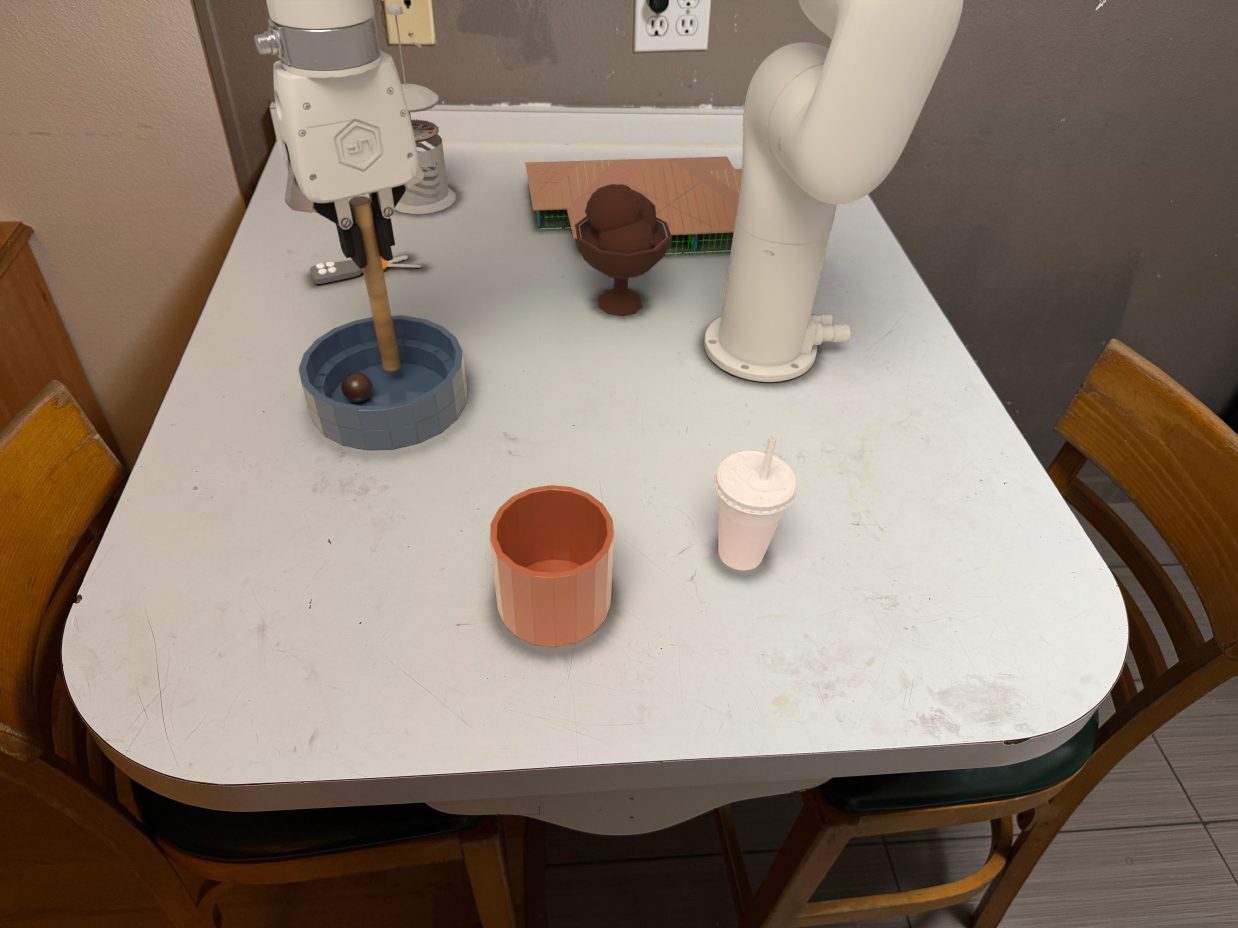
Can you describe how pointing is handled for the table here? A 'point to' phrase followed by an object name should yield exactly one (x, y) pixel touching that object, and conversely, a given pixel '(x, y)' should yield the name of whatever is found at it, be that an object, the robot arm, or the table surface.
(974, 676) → the table surface
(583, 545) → the utensil pot
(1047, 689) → the table surface
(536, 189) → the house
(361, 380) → the bead
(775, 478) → the smoothie
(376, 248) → the stirring stick
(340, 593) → the table surface
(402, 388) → the mixing bowl
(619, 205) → the ice cream bowl
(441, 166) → the french press
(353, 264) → the key chain
